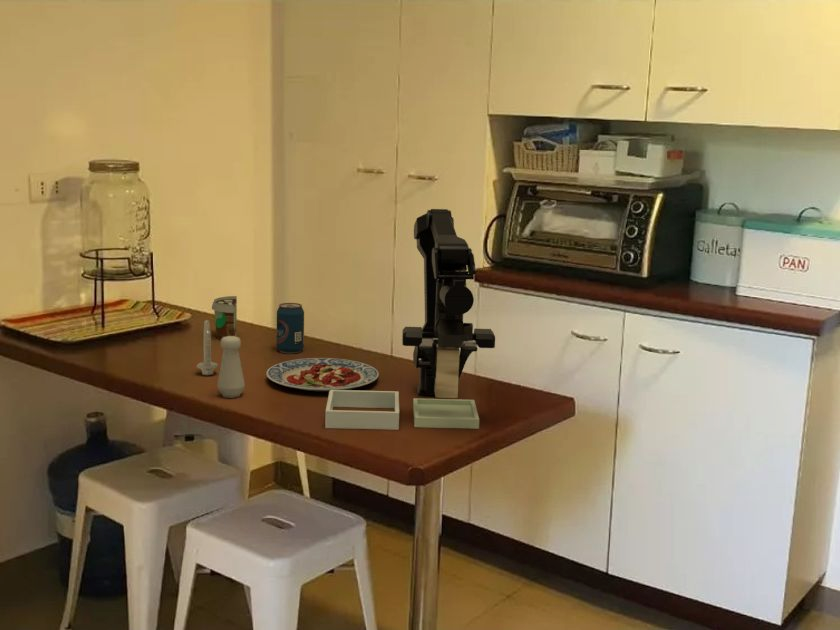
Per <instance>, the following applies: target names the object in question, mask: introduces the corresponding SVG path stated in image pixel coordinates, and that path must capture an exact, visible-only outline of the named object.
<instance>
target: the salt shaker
mask: <svg viewBox="0 0 840 630" xmlns="http://www.w3.org/2000/svg"><path fill="white" fill-rule="evenodd" d="M220 346H221V347H220V348H221V349H222V350H223V351H222V354H221V355H222V357H221V361H220V368H219V374H218V379H217V388H218V390H219V392H220V395H221V396H222V397H223V398H228V399H234V398H238V397H240V396H241V394H242V392H243V391H244V388H245V386H246V383H245V380H244V379H245V378H244V374H243V368H242V363H241V359H240V358H241V357H240V352H239V349H240V348H241V347H242V342H241V338H240V337H238V336H227V337H223V338H222V339H221V340H220Z"/></svg>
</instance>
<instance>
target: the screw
mask: <svg viewBox="0 0 840 630" xmlns="http://www.w3.org/2000/svg"><path fill="white" fill-rule="evenodd" d="M202 333H203V343H202V344H203V346H202V347H203V352H202V353H203V361H202V362H201V361H200V362H199V363H197V364H196V368H197V369H200V370H201V374H202V376H211V375H214V370H215V369H217V368H218V367H219V364H218V363H217V362H214V361H212V350H211V349H212V340H211V339H212V333H211V325H210V320H208V319H205V320H204V322H203V332H202Z"/></svg>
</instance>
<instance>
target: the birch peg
mask: <svg viewBox="0 0 840 630" xmlns="http://www.w3.org/2000/svg"><path fill="white" fill-rule="evenodd" d="M459 355H460V348H455V347H446V348H441V347H439V346H438V345H436V378H435V395H434V396H435V398H439V399H458V397H459V396H458V394H459V379H458V376H459Z"/></svg>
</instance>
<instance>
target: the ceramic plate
mask: <svg viewBox="0 0 840 630" xmlns="http://www.w3.org/2000/svg"><path fill="white" fill-rule="evenodd" d="M266 376H267V378H268V380H270V381H272V382H274V383H276V384H278V385H281V386H285V387H288V388H294V389H298V390H304V391H307V392H330V390H350V389H355V388H359V387H363V386H366V385H368V384H371V383H374V382H375V381H376V380H377V379H378V377H379V371H378V370H377V369H376V368H375V367H373V366H372V365H370V364H366V363H364V362H360V361H355V360H350V359H344V358H332V357H312V358H311V357H308V358H298V359H291V360H287V361H283V362H278V363H277V364H273V365H272V366H271V367H269V368H268V369H267V370H266Z"/></svg>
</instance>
